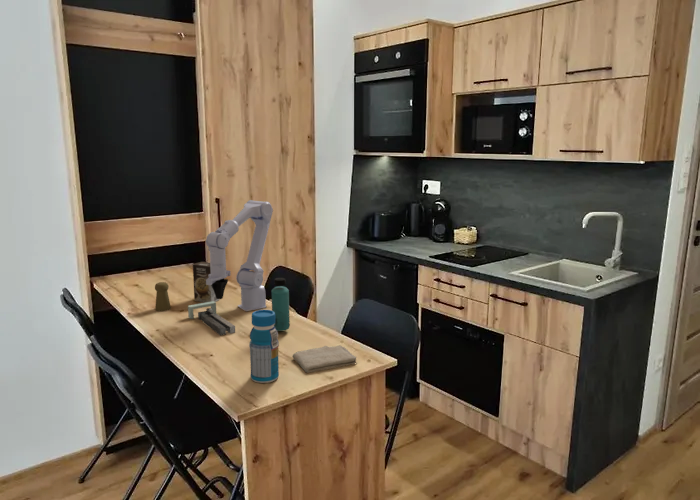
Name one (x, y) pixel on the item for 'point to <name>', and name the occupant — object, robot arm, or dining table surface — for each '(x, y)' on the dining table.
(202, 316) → the tong base
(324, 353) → the washcloth
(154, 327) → the dining table surface
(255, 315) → the beverage bottle
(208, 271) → the coffee box
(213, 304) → the pale green notched block
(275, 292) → the beverage bottle
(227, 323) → the tong arm
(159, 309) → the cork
